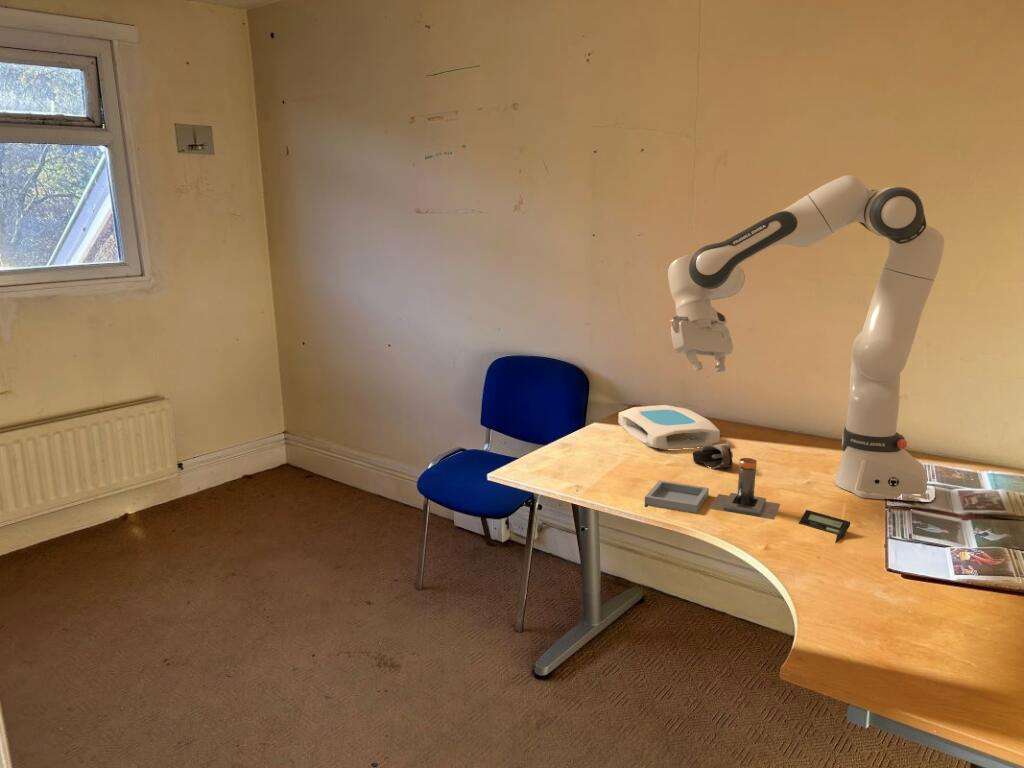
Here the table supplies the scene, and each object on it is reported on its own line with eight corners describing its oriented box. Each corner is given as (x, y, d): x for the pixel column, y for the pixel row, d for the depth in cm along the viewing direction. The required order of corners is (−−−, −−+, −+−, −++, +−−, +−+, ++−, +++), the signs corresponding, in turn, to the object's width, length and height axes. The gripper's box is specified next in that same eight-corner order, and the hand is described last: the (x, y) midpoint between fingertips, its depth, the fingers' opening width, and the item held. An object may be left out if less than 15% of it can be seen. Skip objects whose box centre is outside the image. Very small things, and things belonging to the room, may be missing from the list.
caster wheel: (693, 467, 206) (730, 463, 204) (696, 472, 195) (735, 468, 193) (690, 443, 206) (727, 439, 204) (693, 447, 195) (732, 443, 193)
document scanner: (653, 453, 211) (654, 432, 210) (617, 426, 238) (617, 407, 236) (720, 446, 216) (721, 426, 215) (677, 421, 243) (678, 403, 241)
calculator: (781, 537, 155) (782, 524, 155) (806, 521, 163) (807, 509, 163) (826, 551, 149) (827, 537, 148) (849, 534, 157) (850, 521, 156)
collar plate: (779, 506, 171) (780, 498, 171) (773, 521, 163) (774, 514, 162) (718, 496, 177) (718, 489, 177) (709, 511, 169) (709, 503, 168)
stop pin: (754, 504, 171) (757, 459, 168) (751, 510, 167) (755, 464, 165) (738, 502, 172) (741, 457, 170) (735, 507, 169) (738, 461, 167)
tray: (708, 497, 177) (708, 487, 176) (696, 515, 166) (696, 505, 166) (659, 489, 182) (659, 480, 181) (644, 506, 172) (644, 496, 171)
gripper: (680, 309, 176) (694, 364, 172) (729, 317, 189) (744, 368, 185) (660, 319, 181) (673, 373, 177) (710, 326, 194) (723, 376, 190)
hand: (710, 370), depth 181 cm, fingers open, 8 cm apart
